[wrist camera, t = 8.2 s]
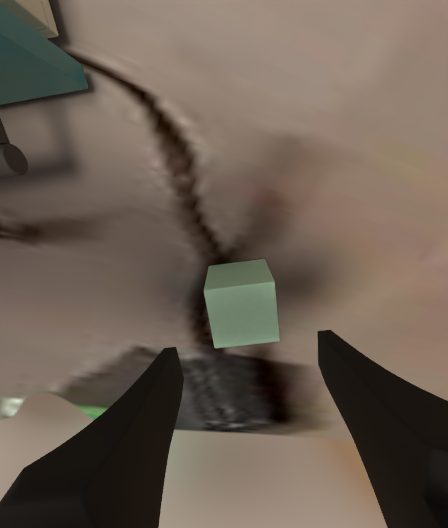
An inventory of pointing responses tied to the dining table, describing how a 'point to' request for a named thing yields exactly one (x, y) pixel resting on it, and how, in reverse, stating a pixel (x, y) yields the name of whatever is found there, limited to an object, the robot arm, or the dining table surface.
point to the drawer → (30, 67)
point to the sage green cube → (241, 303)
